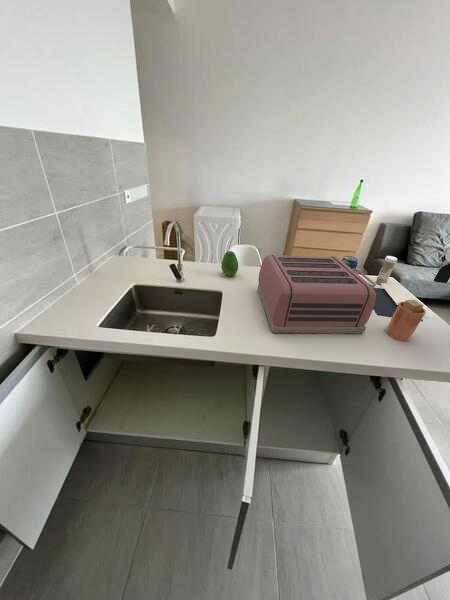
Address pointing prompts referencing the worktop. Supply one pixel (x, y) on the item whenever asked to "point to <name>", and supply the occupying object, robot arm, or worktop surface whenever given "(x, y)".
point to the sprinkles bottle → (386, 269)
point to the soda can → (350, 261)
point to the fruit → (229, 263)
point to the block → (412, 306)
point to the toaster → (314, 295)
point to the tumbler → (404, 323)
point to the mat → (384, 303)
